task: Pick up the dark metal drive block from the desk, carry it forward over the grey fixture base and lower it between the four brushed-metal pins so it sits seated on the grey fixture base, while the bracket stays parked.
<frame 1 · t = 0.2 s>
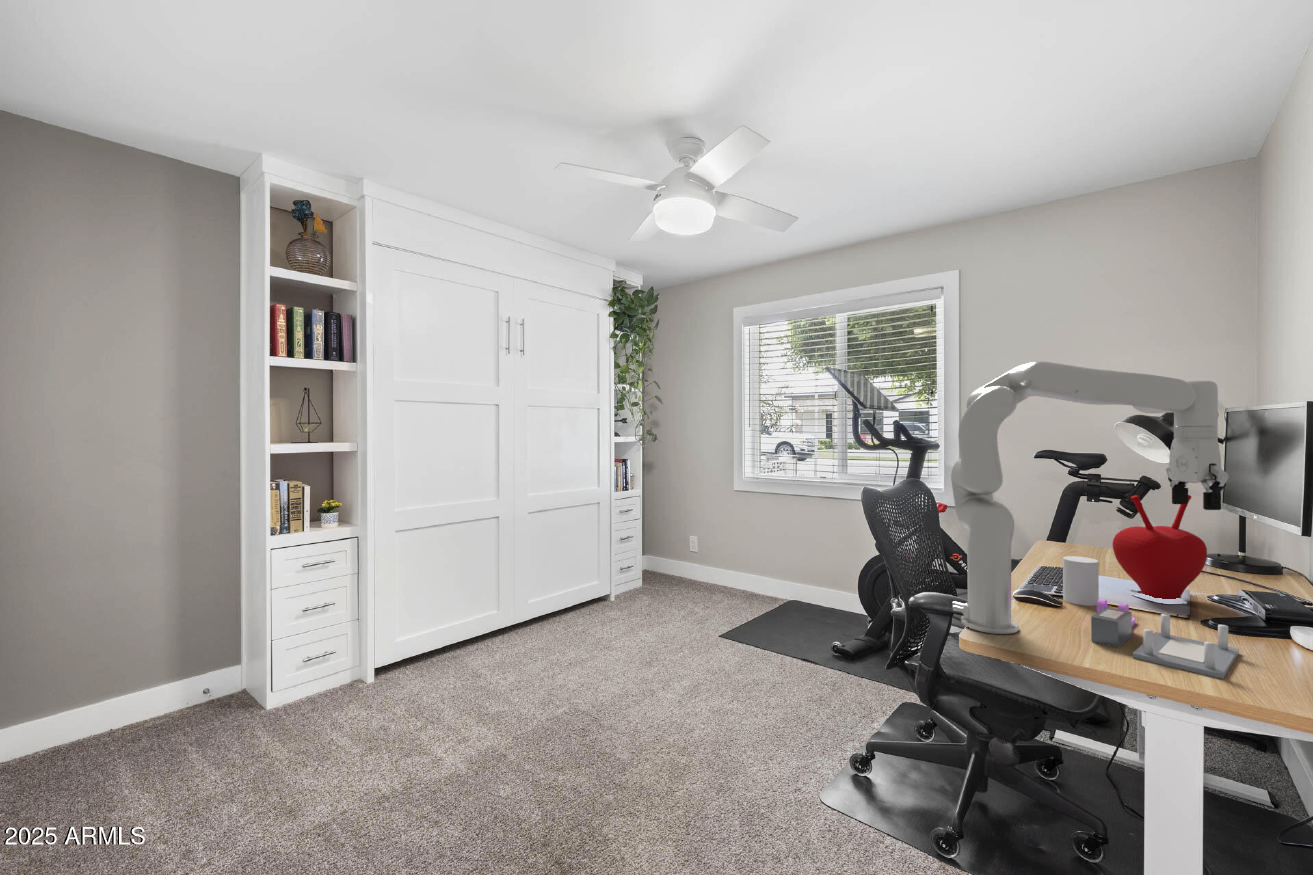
hand: (1195, 506, 136), 31 cm above the table, tool pointing down, fingers open, 9 cm apart
grey fixture base: (1186, 655, 125), on the table
light grey cylinder: (1080, 602, 165), on the table
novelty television: (1160, 600, 165), on the table
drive: (1111, 639, 136), on the table
bracket: (1117, 626, 145), on the table
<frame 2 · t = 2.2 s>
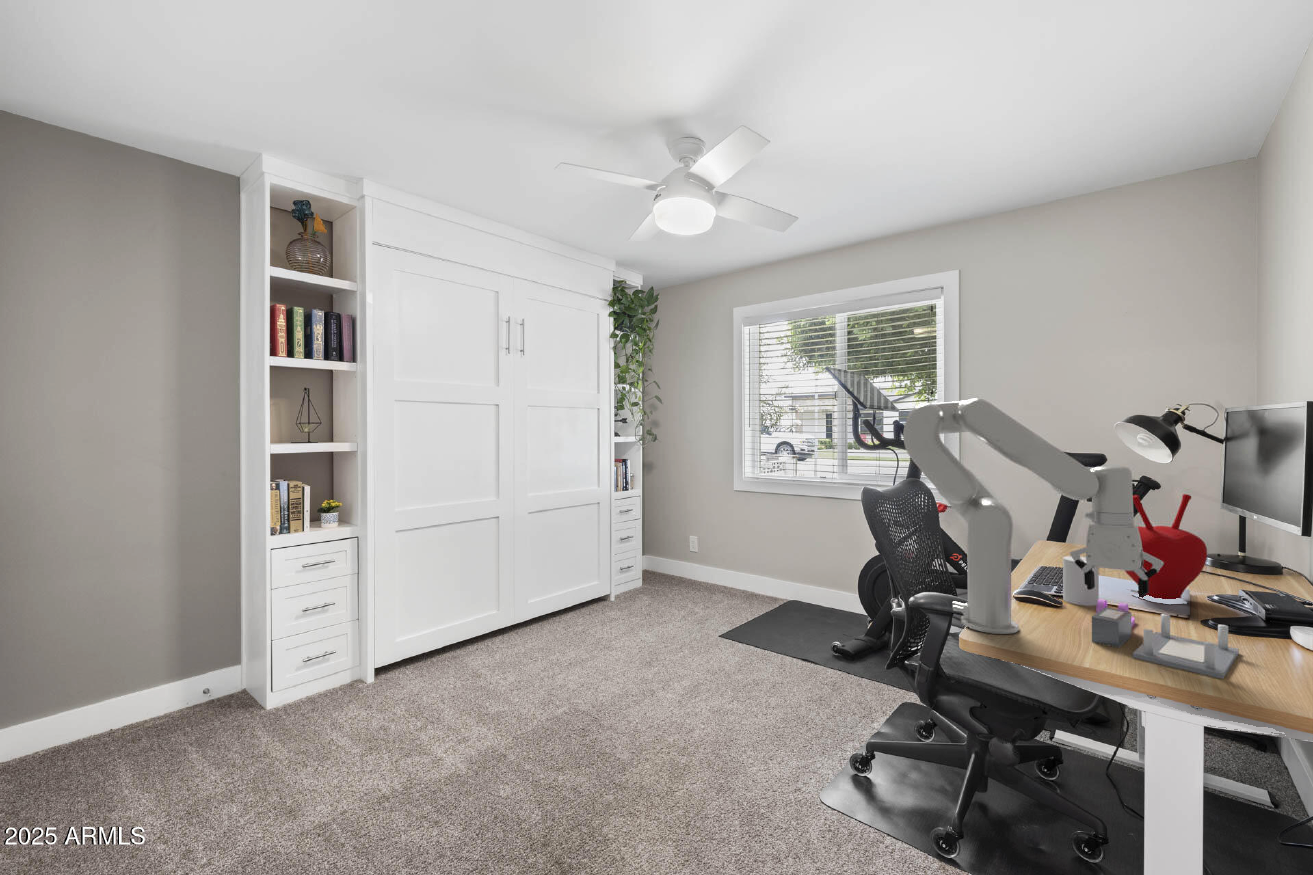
hand: (1116, 592, 135), 11 cm above the table, tool pointing down, fingers open, 9 cm apart
nothing on the table moved.
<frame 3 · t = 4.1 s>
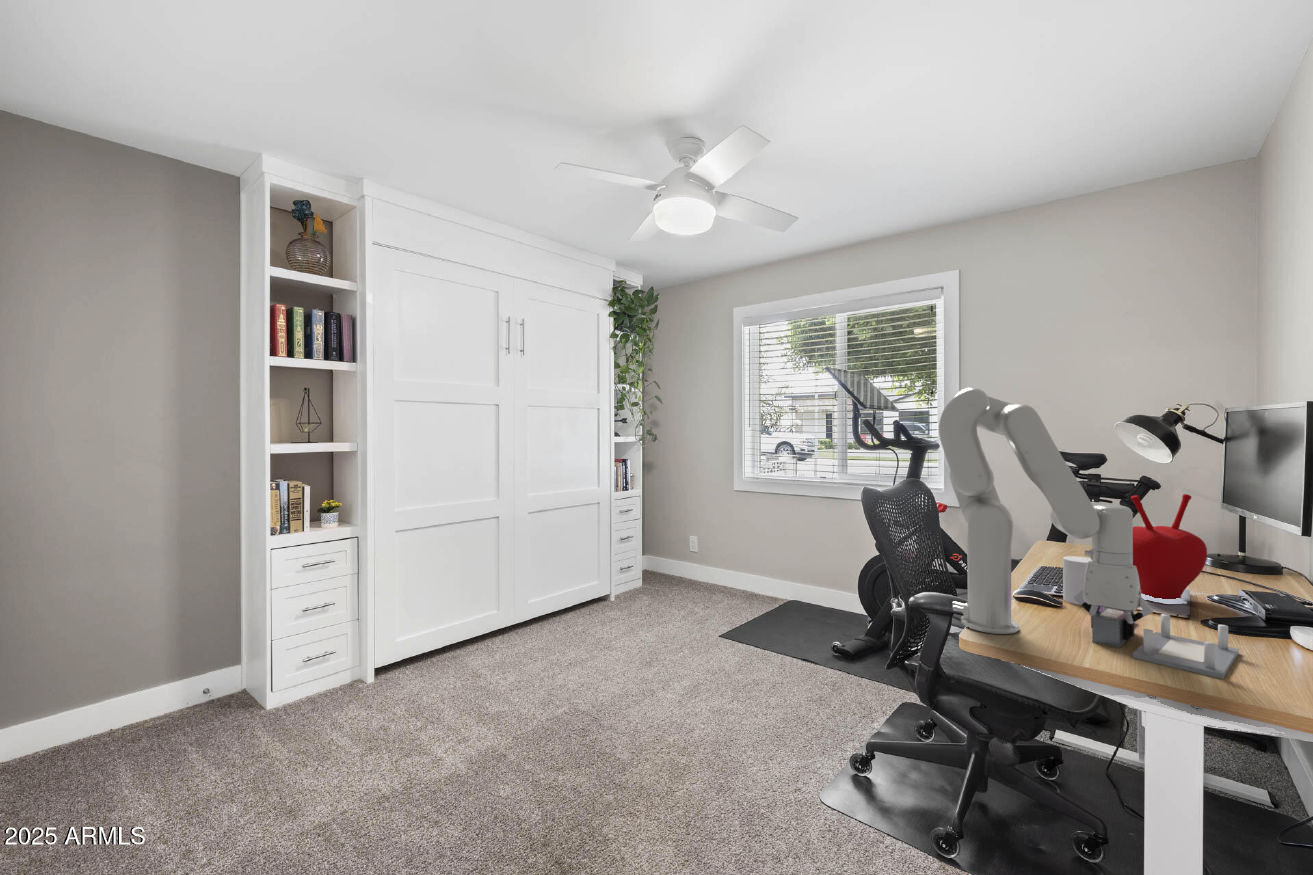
hand: (1112, 634, 136), 1 cm above the table, tool pointing down, fingers closed on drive, 5 cm apart
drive: (1112, 639, 136), on the table, touching gripper
everything else where it was.
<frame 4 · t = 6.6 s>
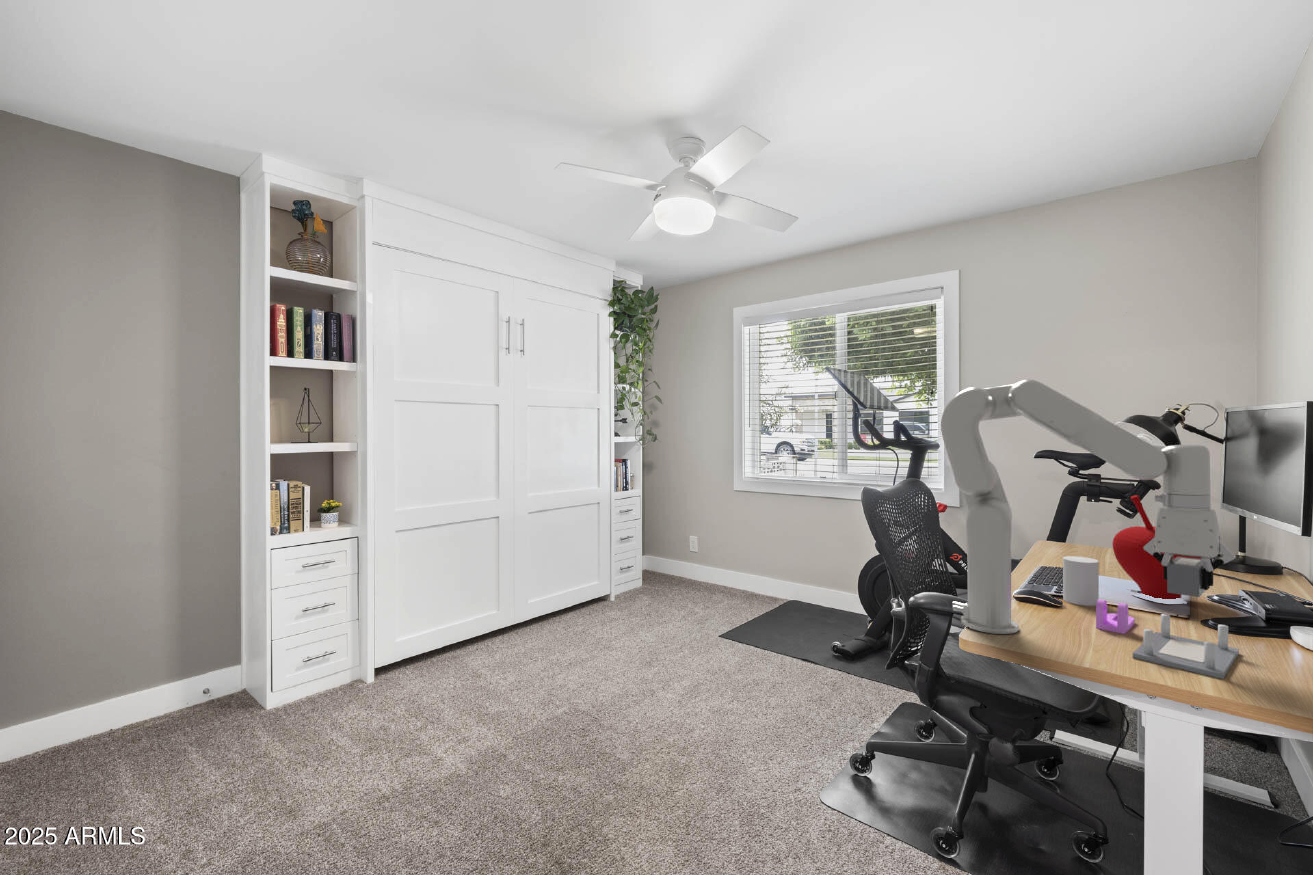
hand: (1188, 585, 125), 15 cm above the table, tool pointing down, fingers closed on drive, 5 cm apart
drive: (1188, 589, 125), point 14 cm above the table, touching gripper
everything else where it was.
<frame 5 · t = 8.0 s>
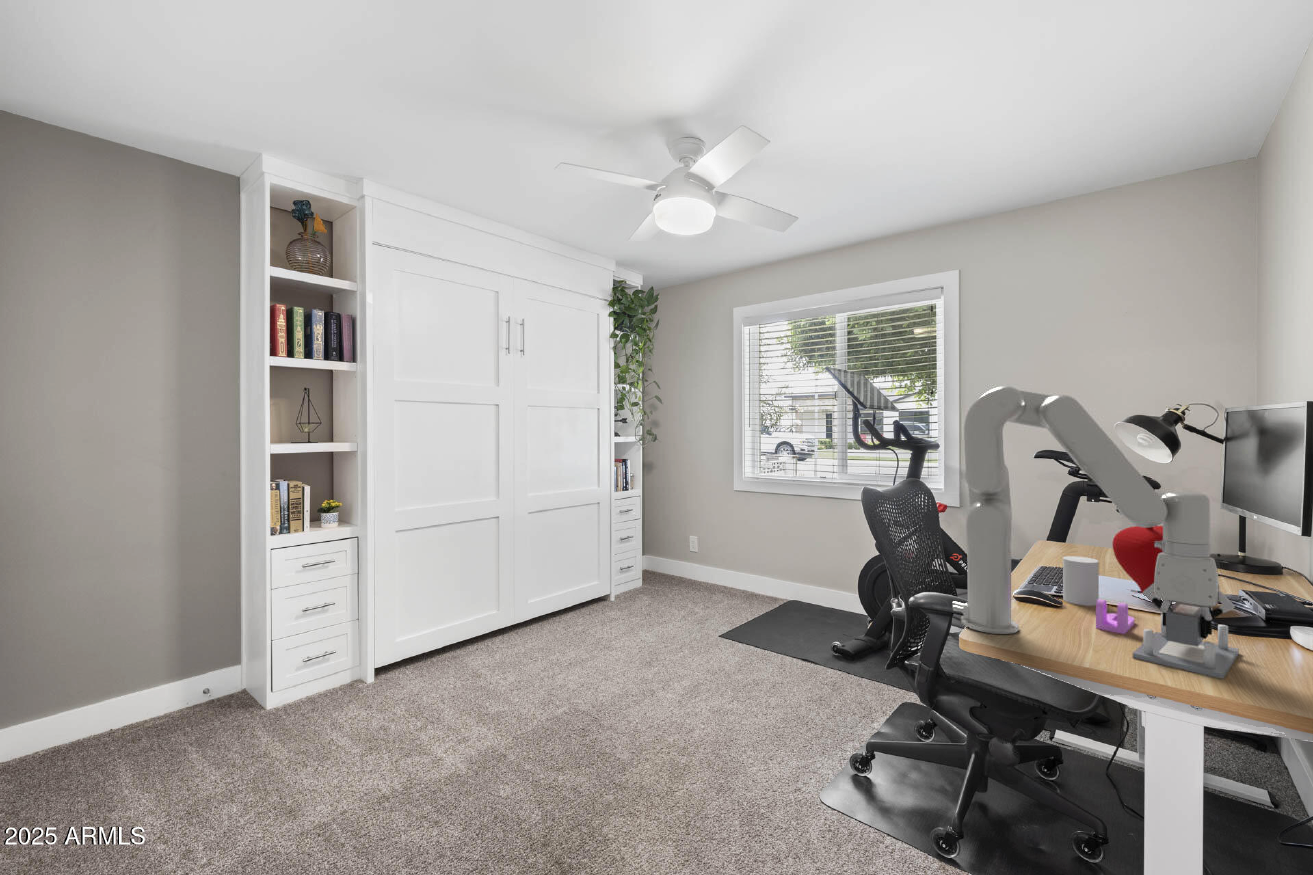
hand: (1186, 632, 125), 5 cm above the table, tool pointing down, fingers closed on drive, 5 cm apart
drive: (1186, 637, 125), point 4 cm above the table, touching gripper
everything else where it was.
when the fingers open (3 cm above the table, at t = 9.1 s): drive drops 1 cm, resting on grey fixture base.
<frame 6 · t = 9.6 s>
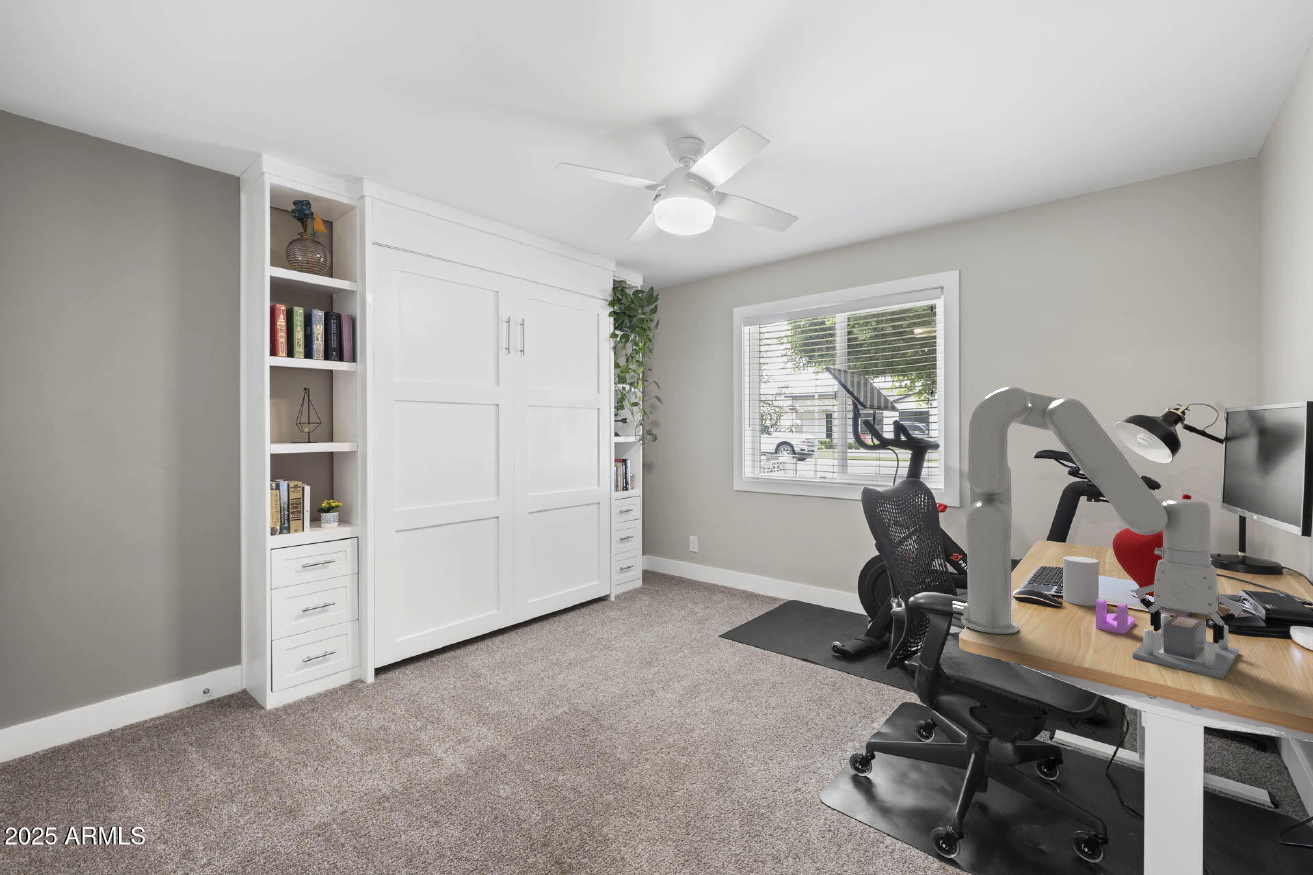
hand: (1186, 635, 125), 4 cm above the table, tool pointing down, fingers open, 9 cm apart
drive: (1185, 649, 125), point 1 cm above the table, touching grey fixture base
everything else where it was.
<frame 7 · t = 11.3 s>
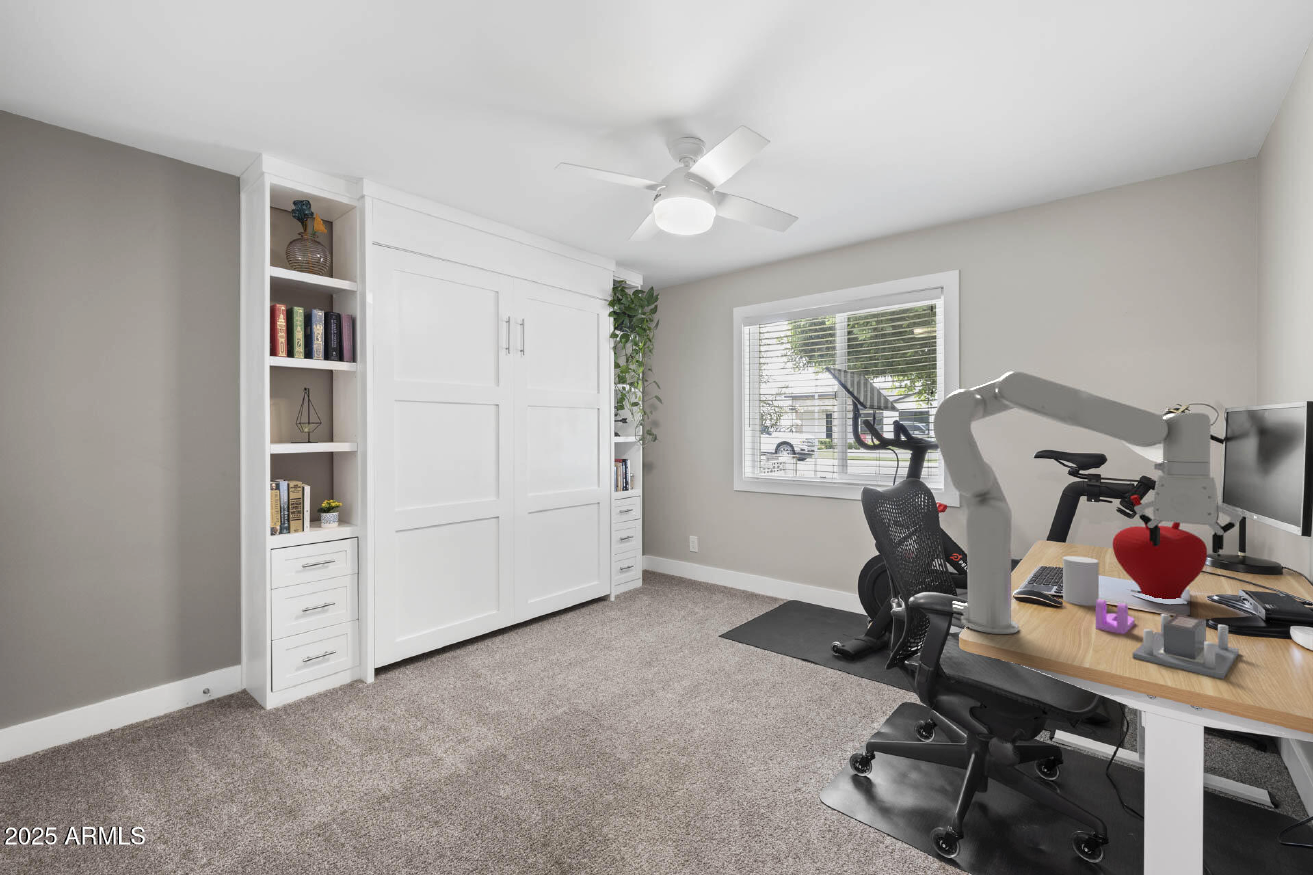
hand: (1185, 548, 125), 23 cm above the table, tool pointing down, fingers open, 9 cm apart
nothing on the table moved.
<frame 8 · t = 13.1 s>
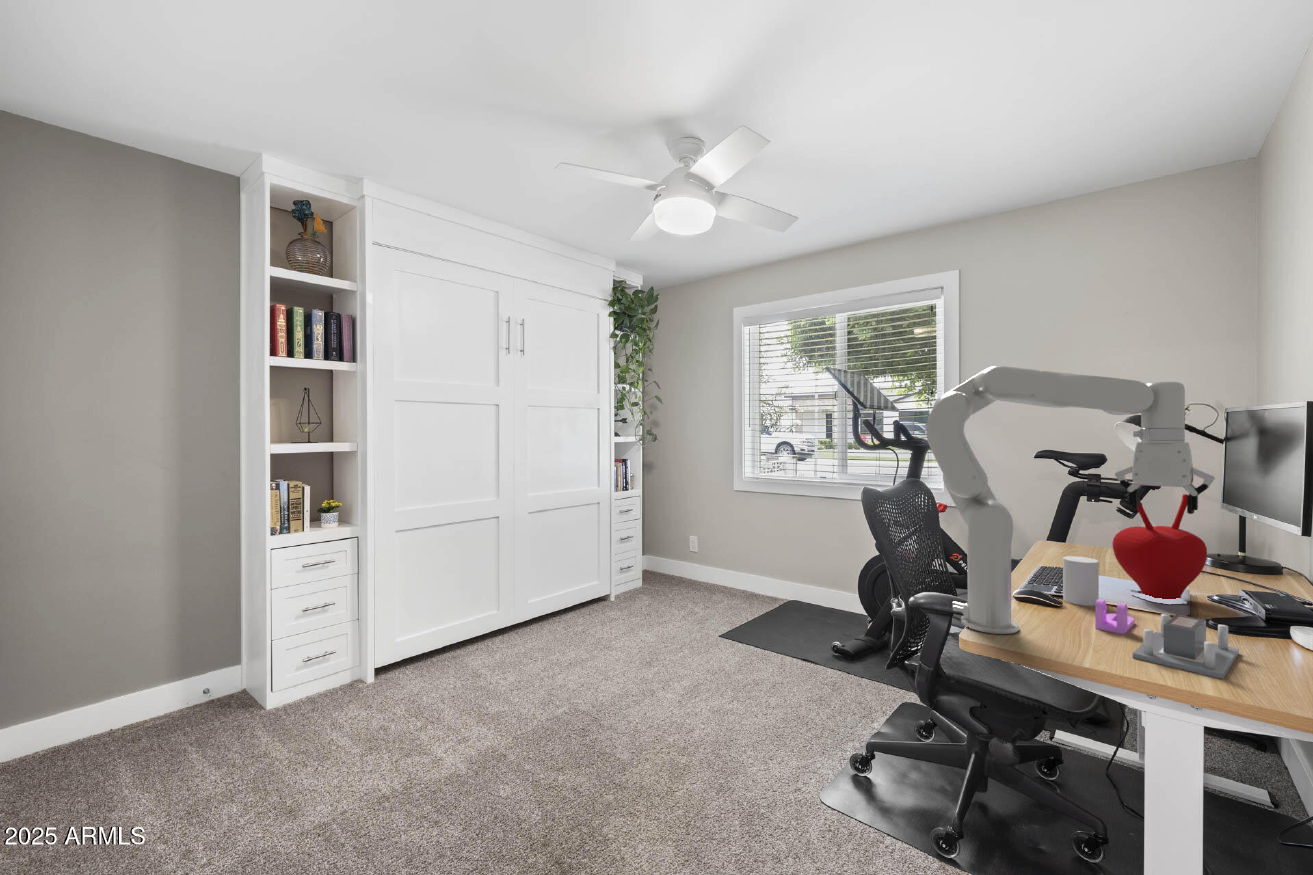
hand: (1162, 510, 133), 30 cm above the table, tool pointing down, fingers open, 9 cm apart
nothing on the table moved.
at the end: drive 0.2 cm off-centre on the grey fixture base, point 1.2 cm above the grey fixture base's base; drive tilted 0°; the gripper is holding nothing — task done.
